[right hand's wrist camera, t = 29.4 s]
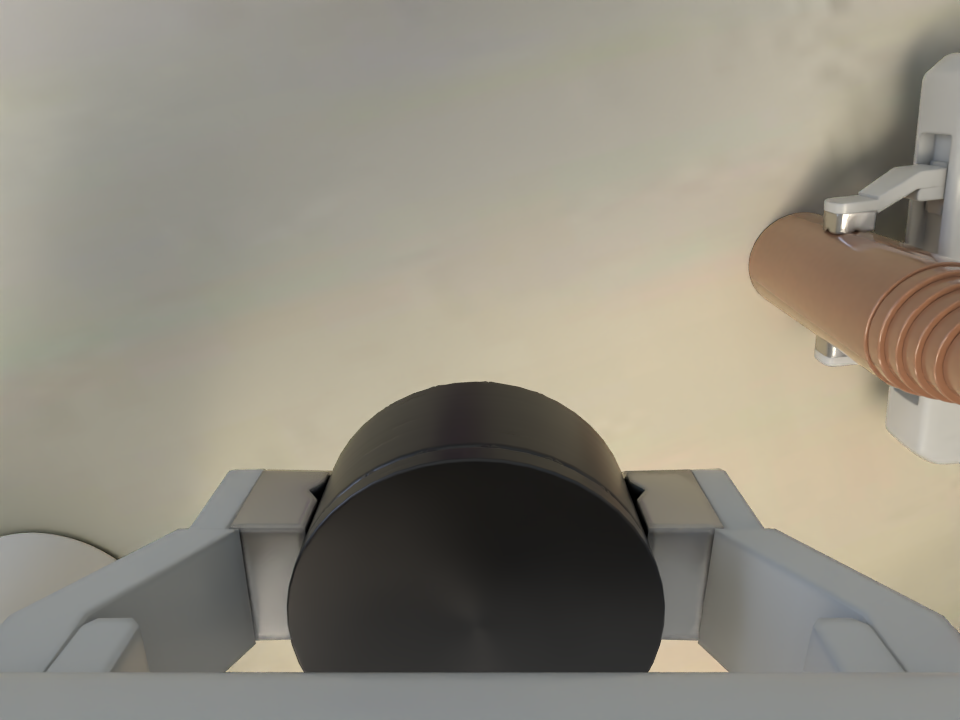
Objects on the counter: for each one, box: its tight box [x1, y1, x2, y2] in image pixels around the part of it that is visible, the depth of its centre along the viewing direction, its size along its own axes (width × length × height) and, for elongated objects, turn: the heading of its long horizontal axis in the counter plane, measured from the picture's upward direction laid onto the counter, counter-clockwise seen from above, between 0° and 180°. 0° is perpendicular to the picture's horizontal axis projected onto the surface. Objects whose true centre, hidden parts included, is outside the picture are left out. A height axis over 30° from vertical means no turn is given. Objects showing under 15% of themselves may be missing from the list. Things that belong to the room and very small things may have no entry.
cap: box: [287, 381, 665, 672], centre depth 9 cm, size 4×4×2 cm
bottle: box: [749, 212, 960, 405], centre depth 30 cm, size 5×5×19 cm
